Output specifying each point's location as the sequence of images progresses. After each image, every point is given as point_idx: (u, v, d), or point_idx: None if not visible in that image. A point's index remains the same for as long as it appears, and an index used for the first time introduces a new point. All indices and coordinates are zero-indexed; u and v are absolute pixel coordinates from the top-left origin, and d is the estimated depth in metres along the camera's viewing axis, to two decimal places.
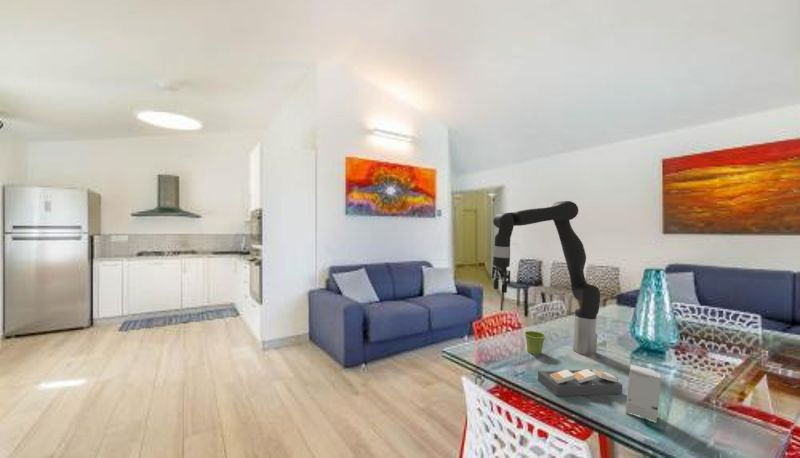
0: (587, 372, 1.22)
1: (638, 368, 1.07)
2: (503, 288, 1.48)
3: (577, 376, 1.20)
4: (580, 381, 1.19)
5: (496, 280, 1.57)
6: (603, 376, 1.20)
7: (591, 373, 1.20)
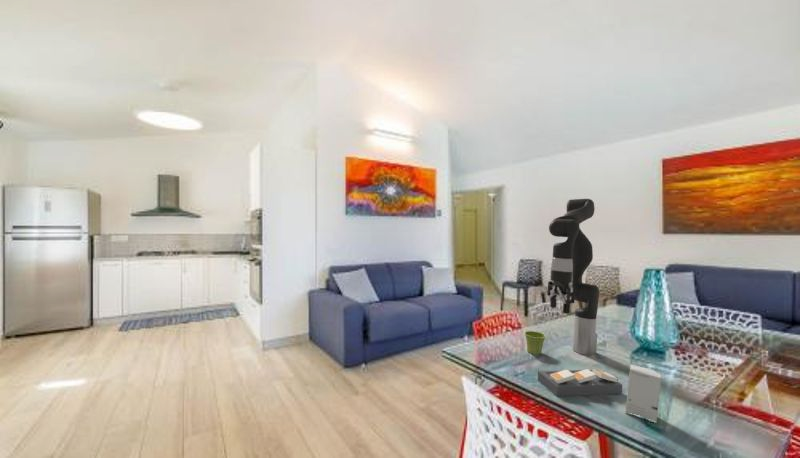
0: (587, 372, 1.22)
1: (638, 368, 1.07)
2: (565, 308, 1.25)
3: (577, 376, 1.20)
4: (580, 381, 1.19)
5: (553, 297, 1.34)
6: (603, 376, 1.20)
7: (591, 373, 1.20)
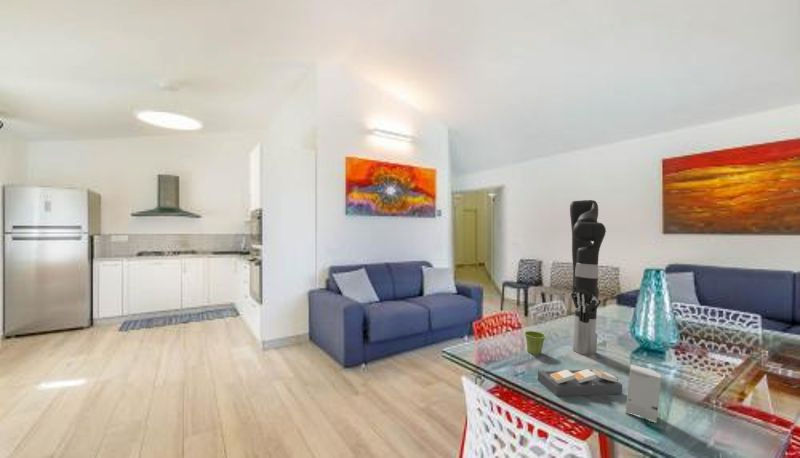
0: (587, 372, 1.22)
1: (638, 368, 1.07)
2: (585, 317, 1.21)
3: (577, 376, 1.20)
4: (580, 381, 1.19)
5: None
6: (603, 376, 1.20)
7: (591, 373, 1.20)
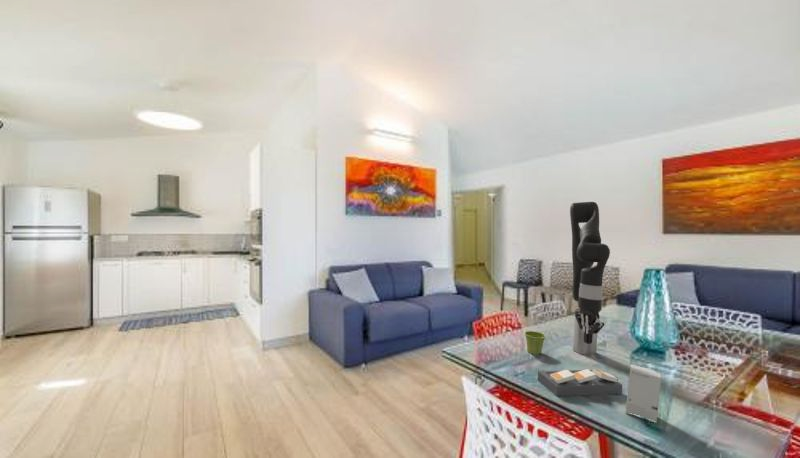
0: (587, 372, 1.22)
1: (638, 368, 1.07)
2: (588, 338, 1.21)
3: (577, 376, 1.20)
4: (580, 381, 1.19)
5: None
6: (603, 376, 1.20)
7: (591, 373, 1.20)
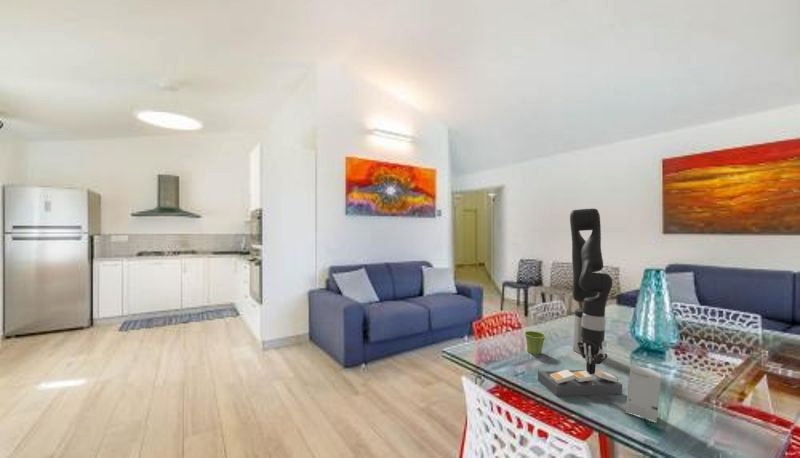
0: (587, 373, 1.22)
1: (638, 368, 1.07)
2: (591, 368, 1.20)
3: (577, 375, 1.20)
4: (580, 380, 1.19)
5: None
6: (603, 376, 1.20)
7: (592, 374, 1.21)
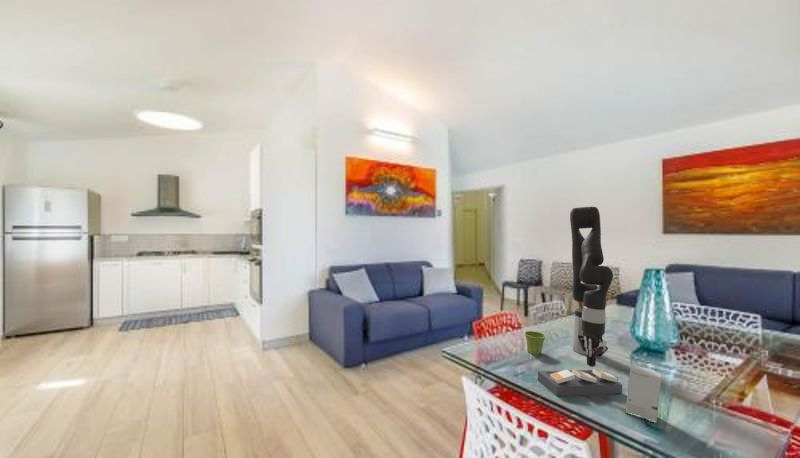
0: (588, 375, 1.22)
1: (638, 368, 1.07)
2: (591, 361, 1.20)
3: (579, 372, 1.20)
4: (581, 377, 1.19)
5: None
6: (603, 376, 1.20)
7: (592, 377, 1.21)
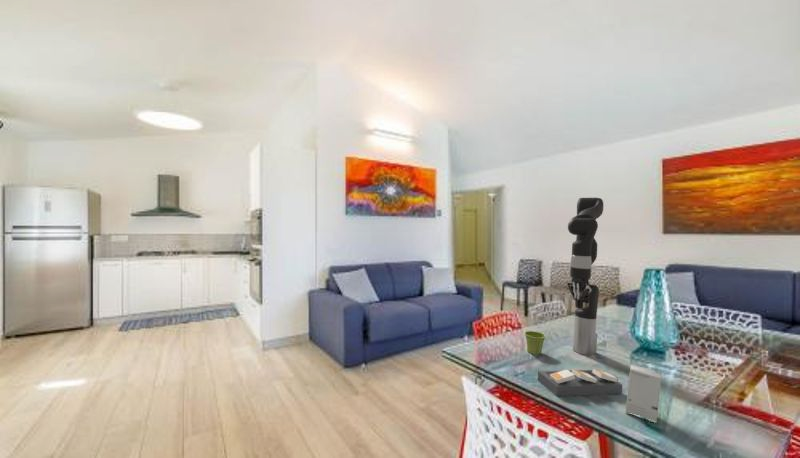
0: (588, 375, 1.22)
1: (638, 368, 1.07)
2: (579, 303, 1.35)
3: (579, 372, 1.20)
4: (581, 377, 1.19)
5: None
6: (603, 376, 1.20)
7: (592, 377, 1.21)
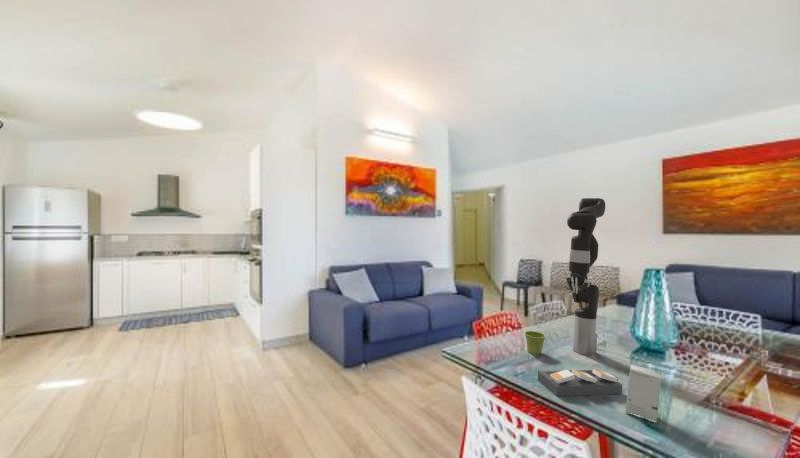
0: (588, 375, 1.22)
1: (638, 368, 1.07)
2: (577, 298, 1.36)
3: (579, 372, 1.20)
4: (581, 377, 1.19)
5: None
6: (603, 376, 1.20)
7: (592, 377, 1.21)
